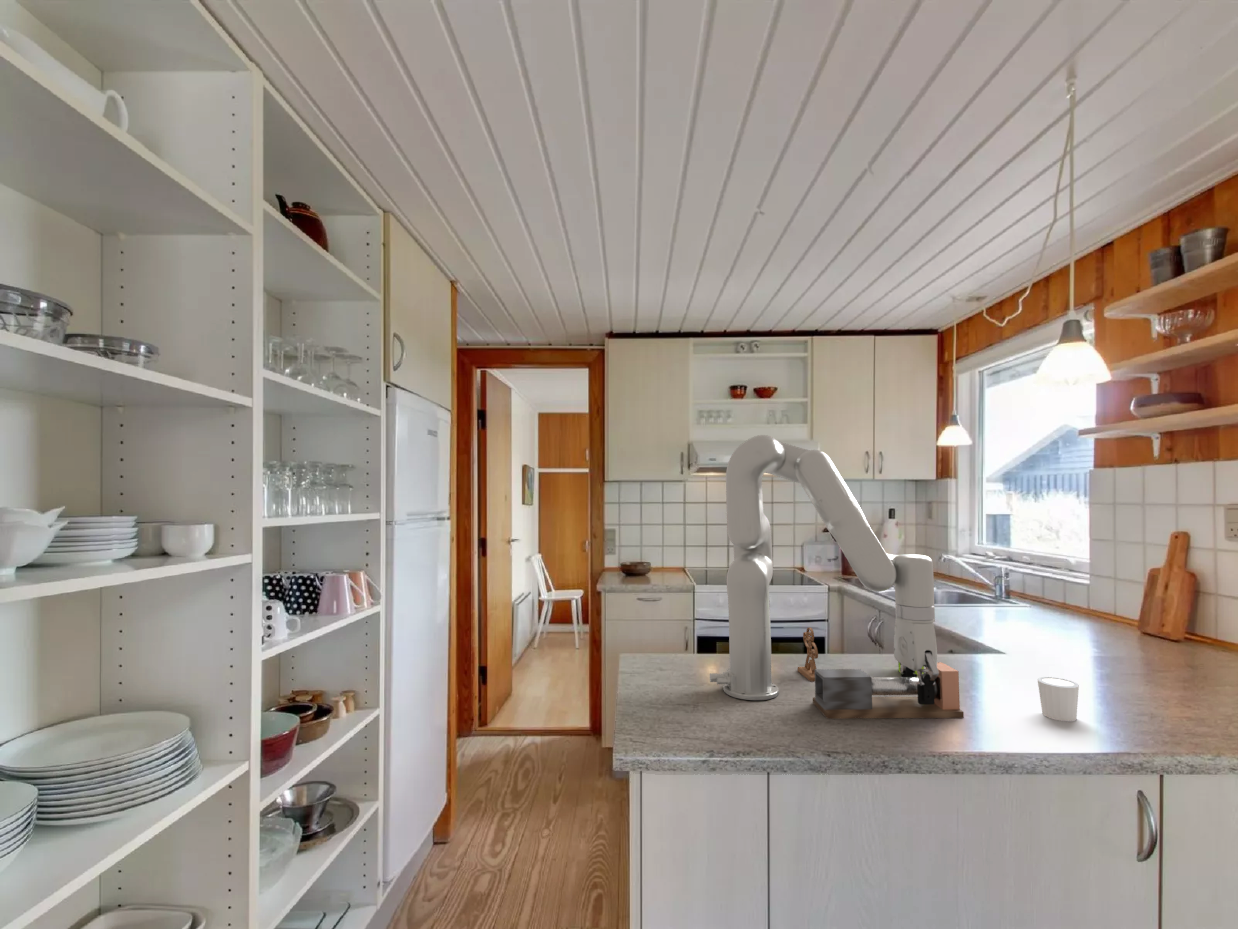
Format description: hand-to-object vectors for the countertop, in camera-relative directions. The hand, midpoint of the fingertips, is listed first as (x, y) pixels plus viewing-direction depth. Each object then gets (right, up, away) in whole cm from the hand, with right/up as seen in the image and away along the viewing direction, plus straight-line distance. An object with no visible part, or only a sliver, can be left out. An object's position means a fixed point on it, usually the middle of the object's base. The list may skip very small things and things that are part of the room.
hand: (917, 697), depth 125 cm
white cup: (+27, -3, -4) cm, 28 cm away
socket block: (+5, -1, 0) cm, 6 cm away
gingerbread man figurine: (-15, -4, +24) cm, 28 cm away
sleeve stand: (-7, -3, 0) cm, 7 cm away
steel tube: (-4, 0, 0) cm, 4 cm away
